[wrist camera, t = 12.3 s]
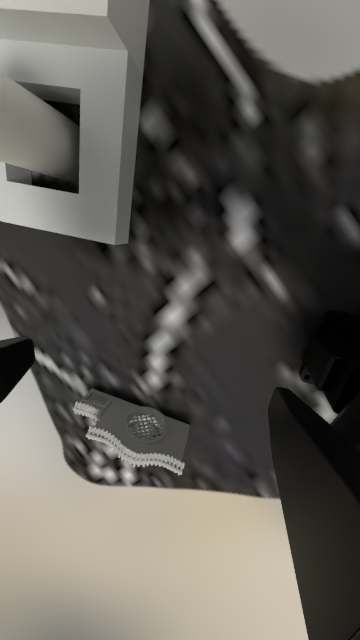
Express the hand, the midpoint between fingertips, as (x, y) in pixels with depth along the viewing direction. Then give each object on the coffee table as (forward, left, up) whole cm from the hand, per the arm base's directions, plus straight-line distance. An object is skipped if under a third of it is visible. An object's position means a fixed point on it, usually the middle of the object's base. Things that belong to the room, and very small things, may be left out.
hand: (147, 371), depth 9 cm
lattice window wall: (+4, +14, -13) cm, 20 cm away
